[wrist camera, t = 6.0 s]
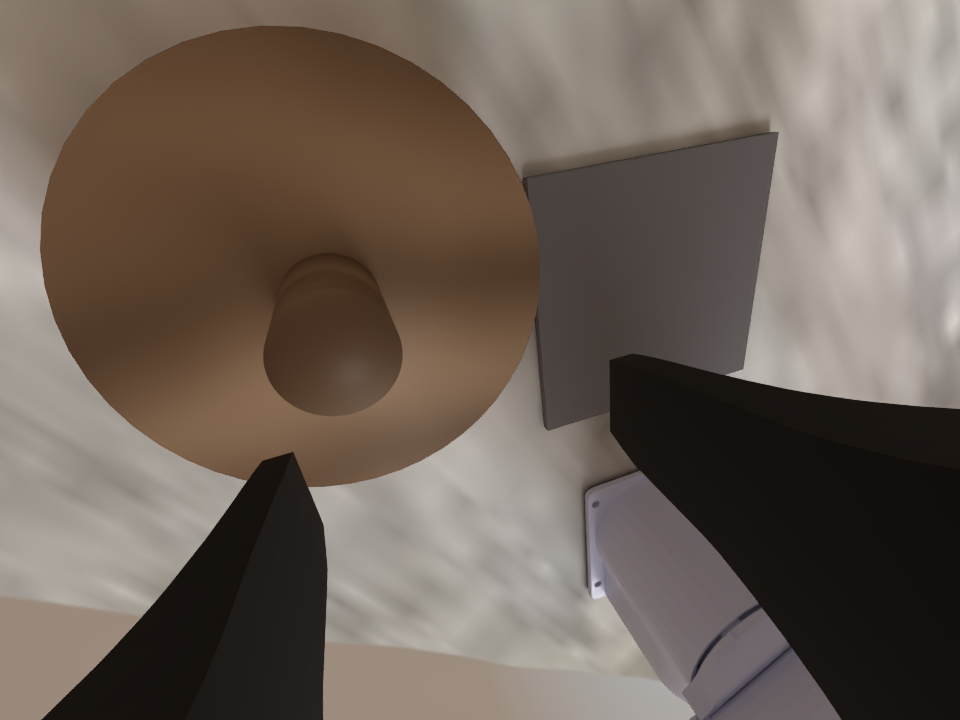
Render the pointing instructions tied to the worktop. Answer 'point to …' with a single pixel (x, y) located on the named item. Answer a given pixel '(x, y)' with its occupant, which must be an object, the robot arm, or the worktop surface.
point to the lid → (290, 254)
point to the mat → (646, 265)
